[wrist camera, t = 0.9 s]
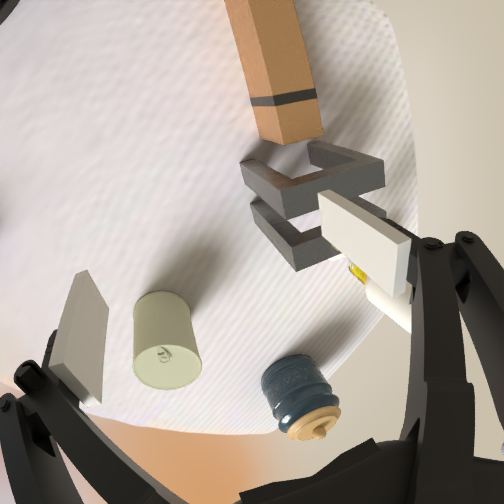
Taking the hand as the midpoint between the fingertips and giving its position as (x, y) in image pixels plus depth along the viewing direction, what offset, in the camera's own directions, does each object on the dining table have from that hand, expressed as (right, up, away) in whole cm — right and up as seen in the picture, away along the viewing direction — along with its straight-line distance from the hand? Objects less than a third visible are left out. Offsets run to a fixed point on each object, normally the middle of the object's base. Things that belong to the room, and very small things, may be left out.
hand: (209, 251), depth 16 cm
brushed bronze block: (+3, +26, +16) cm, 30 cm away
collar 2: (+8, +7, +27) cm, 29 cm away
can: (-12, -10, +30) cm, 34 cm away
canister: (+10, -26, +46) cm, 54 cm away
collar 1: (+6, +12, +24) cm, 28 cm away
